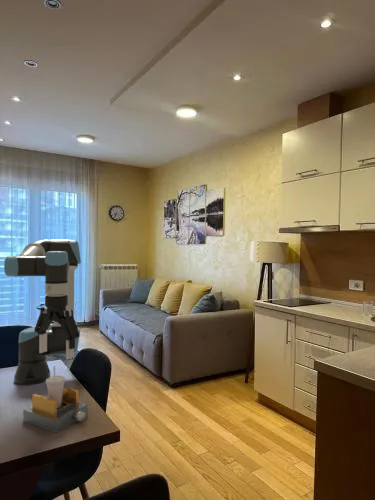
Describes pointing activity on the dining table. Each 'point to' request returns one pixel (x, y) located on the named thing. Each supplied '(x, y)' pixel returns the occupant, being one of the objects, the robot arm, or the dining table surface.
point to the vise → (55, 411)
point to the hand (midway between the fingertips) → (56, 355)
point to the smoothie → (55, 388)
